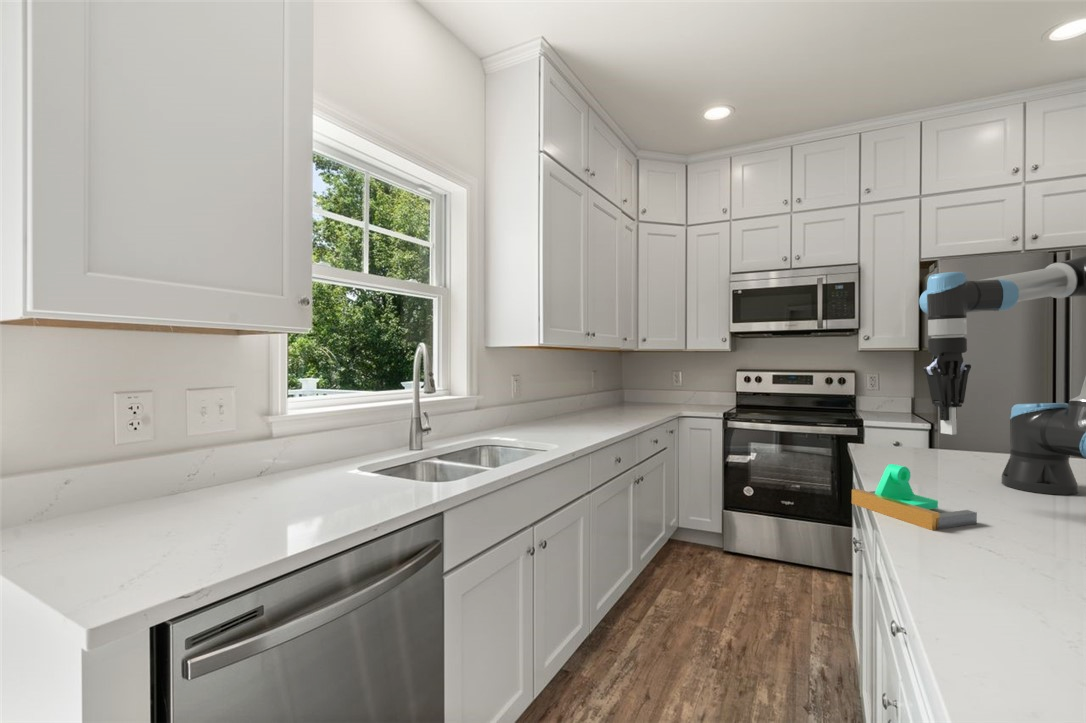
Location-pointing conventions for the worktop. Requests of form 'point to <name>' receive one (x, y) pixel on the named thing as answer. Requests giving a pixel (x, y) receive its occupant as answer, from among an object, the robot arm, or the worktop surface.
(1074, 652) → the worktop surface
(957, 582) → the worktop surface
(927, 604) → the worktop surface
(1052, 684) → the worktop surface
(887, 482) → the camera mount
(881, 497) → the dock
